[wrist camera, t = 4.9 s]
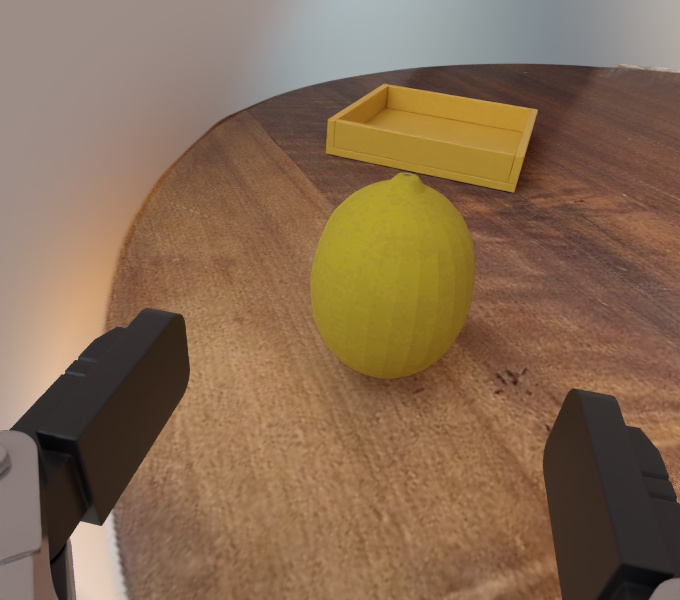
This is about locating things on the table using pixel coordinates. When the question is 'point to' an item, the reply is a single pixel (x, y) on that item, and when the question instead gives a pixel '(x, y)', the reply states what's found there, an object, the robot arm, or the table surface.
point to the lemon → (392, 278)
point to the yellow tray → (435, 135)
